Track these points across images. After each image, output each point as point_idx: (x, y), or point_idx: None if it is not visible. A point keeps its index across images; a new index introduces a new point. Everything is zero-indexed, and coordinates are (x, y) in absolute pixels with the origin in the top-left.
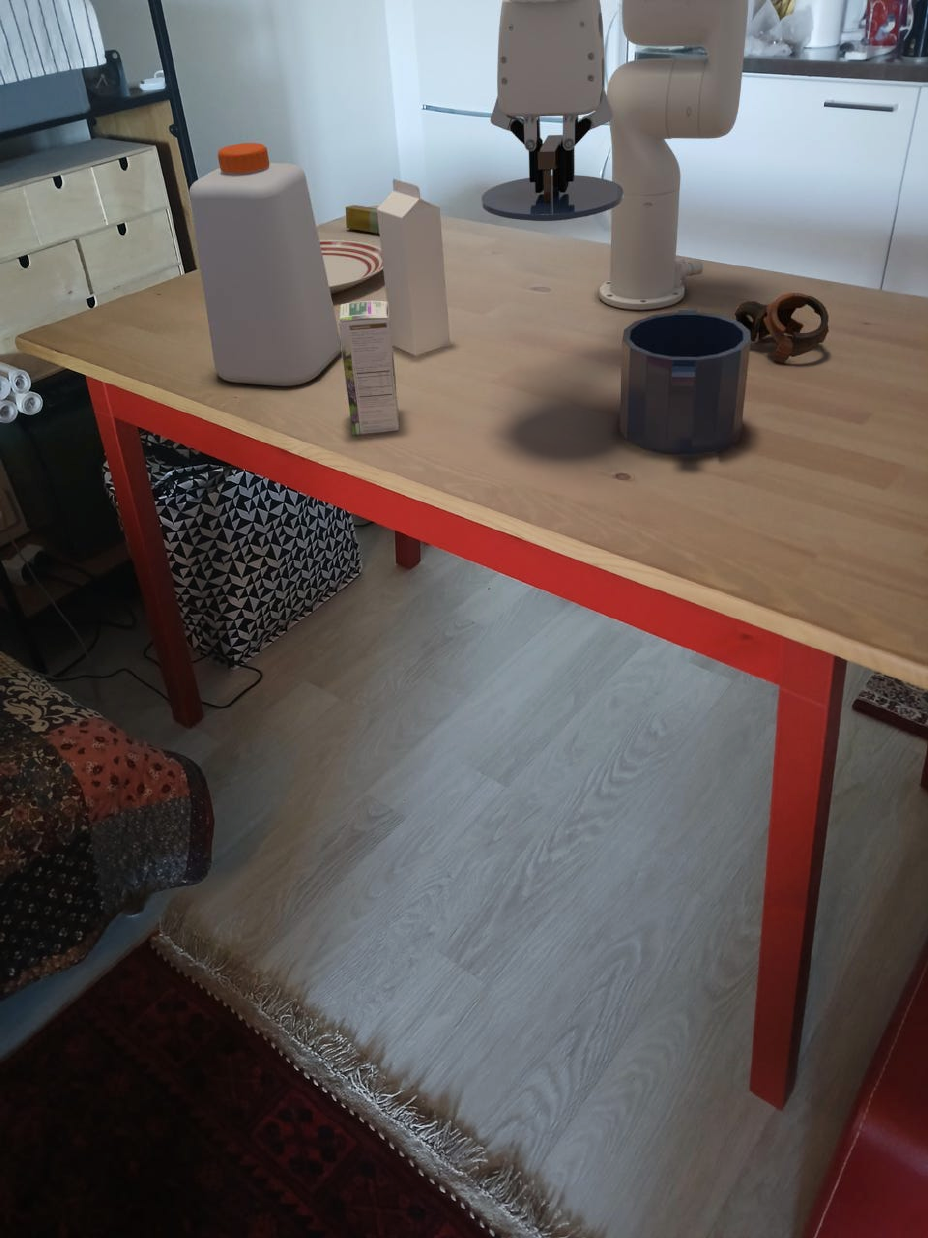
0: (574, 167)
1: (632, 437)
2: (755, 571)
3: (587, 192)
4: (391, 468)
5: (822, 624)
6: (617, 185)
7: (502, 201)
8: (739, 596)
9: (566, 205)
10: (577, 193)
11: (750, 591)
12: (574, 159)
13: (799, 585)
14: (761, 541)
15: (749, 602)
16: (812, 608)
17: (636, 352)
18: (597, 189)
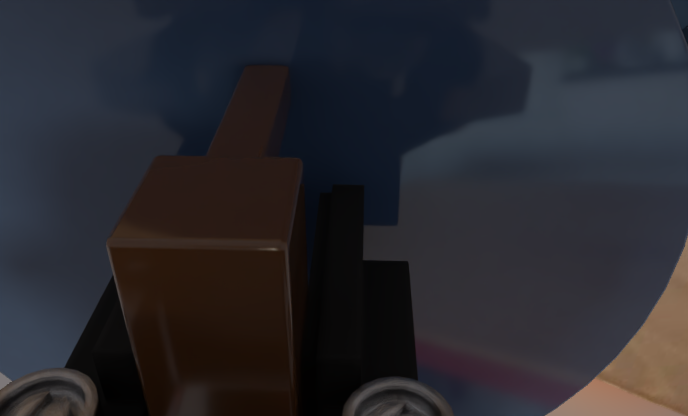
0: (410, 292)
1: None
2: (639, 341)
3: (480, 231)
4: None
5: (684, 410)
6: (681, 107)
7: (60, 340)
8: (607, 379)
9: None
10: (424, 247)
11: (622, 371)
12: (413, 325)
13: (684, 360)
14: (667, 288)
15: (616, 386)
16: (683, 390)
17: None
18: (542, 183)
